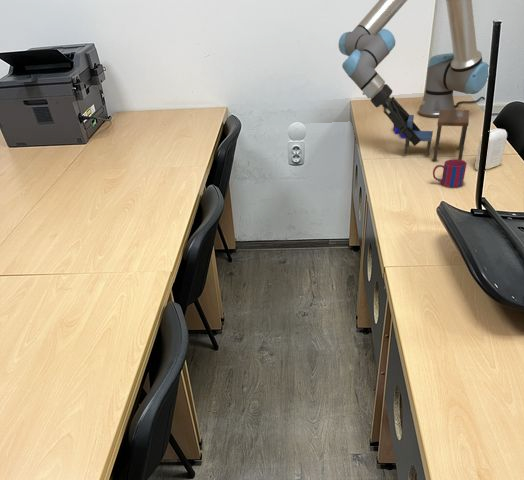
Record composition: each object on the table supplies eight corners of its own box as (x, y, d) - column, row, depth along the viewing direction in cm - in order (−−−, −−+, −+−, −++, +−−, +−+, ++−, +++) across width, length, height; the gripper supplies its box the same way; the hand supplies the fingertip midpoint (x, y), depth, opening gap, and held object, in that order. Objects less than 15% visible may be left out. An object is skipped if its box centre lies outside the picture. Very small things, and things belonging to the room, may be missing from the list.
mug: (464, 187, 167) (468, 166, 163) (432, 187, 169) (435, 166, 164) (461, 179, 172) (464, 158, 168) (429, 180, 174) (432, 159, 170)
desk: (432, 161, 187) (437, 122, 178) (434, 147, 198) (440, 109, 189) (461, 162, 184) (468, 122, 176) (462, 148, 195) (469, 110, 187)
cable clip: (393, 129, 218) (394, 114, 214) (404, 128, 218) (405, 113, 214) (398, 138, 209) (399, 122, 205) (409, 137, 208) (411, 122, 205)
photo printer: (492, 161, 183) (499, 124, 175) (502, 164, 180) (510, 127, 172) (472, 169, 179) (479, 131, 171) (482, 172, 176) (490, 134, 168)
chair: (403, 154, 192) (407, 121, 184) (405, 146, 197) (409, 114, 190) (429, 155, 189) (433, 121, 182) (430, 147, 195) (435, 115, 188)
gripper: (373, 92, 195) (412, 137, 201) (365, 107, 180) (407, 156, 185) (389, 76, 190) (429, 123, 196) (381, 90, 175) (425, 141, 181)
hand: (418, 139), depth 191 cm, fingers closed on chair, 8 cm apart
